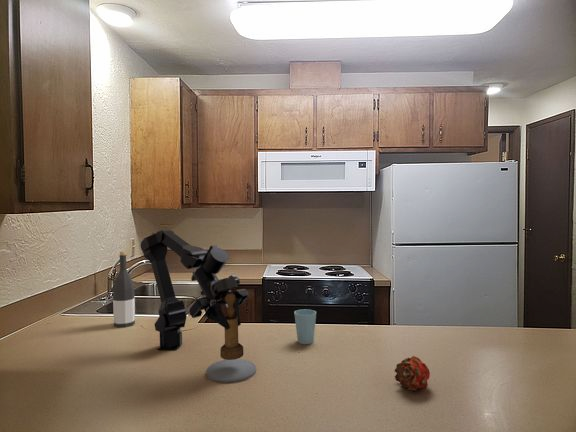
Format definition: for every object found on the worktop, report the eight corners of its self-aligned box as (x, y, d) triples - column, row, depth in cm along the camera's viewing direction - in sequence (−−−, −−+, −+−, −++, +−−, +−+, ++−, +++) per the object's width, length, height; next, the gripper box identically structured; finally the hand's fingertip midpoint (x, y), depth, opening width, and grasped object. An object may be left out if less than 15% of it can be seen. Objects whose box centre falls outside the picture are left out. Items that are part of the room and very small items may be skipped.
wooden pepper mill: (232, 361, 110) (230, 297, 109) (215, 357, 113) (213, 294, 113) (248, 353, 115) (246, 292, 114) (231, 349, 119) (229, 290, 118)
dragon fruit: (408, 404, 97) (409, 390, 108) (438, 387, 95) (436, 374, 107) (387, 373, 99) (390, 362, 111) (416, 355, 98) (416, 346, 109)
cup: (320, 343, 137) (320, 313, 137) (300, 346, 134) (300, 316, 133) (310, 337, 144) (310, 308, 143) (291, 340, 141) (290, 310, 140)
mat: (200, 382, 107) (200, 378, 107) (213, 362, 121) (213, 358, 121) (252, 383, 107) (252, 379, 106) (258, 362, 120) (258, 359, 120)
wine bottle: (109, 327, 159) (107, 252, 158) (123, 321, 167) (121, 250, 166) (126, 328, 157) (124, 252, 156) (139, 322, 164) (137, 250, 164)
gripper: (195, 270, 109) (221, 317, 102) (245, 262, 123) (271, 303, 116) (178, 294, 114) (202, 341, 107) (228, 284, 128) (252, 325, 122)
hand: (234, 326), depth 113 cm, fingers closed on wooden pepper mill, 4 cm apart
